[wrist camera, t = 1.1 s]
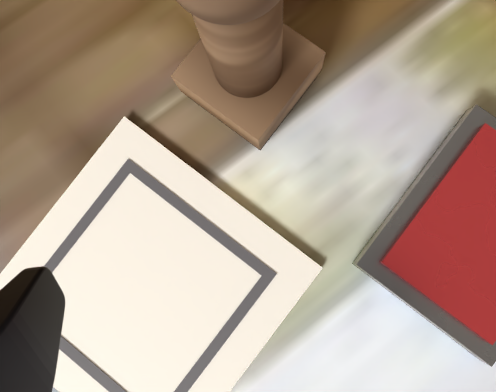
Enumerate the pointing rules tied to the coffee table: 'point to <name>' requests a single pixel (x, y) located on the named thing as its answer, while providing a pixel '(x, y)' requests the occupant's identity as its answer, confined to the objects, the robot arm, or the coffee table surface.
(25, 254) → the card
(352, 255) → the coffee table surface
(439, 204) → the ink pad
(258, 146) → the stamp
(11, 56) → the coffee table surface
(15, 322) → the robot arm
